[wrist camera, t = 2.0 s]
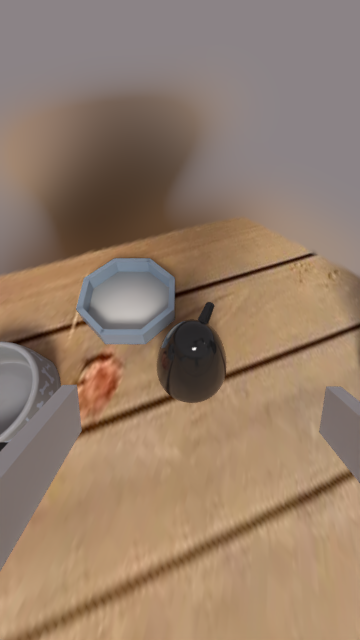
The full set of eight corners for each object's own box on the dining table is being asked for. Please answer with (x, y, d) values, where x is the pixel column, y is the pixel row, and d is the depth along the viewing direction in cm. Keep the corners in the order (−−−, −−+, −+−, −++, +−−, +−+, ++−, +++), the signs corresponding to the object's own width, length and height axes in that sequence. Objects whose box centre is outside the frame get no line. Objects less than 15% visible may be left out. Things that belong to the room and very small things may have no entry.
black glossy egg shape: (231, 361, 42) (253, 312, 29) (206, 420, 38) (219, 393, 25) (177, 337, 45) (174, 282, 32) (147, 390, 40) (130, 350, 27)
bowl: (136, 258, 55) (133, 245, 52) (193, 303, 49) (194, 292, 46) (68, 304, 49) (61, 293, 46) (123, 363, 42) (118, 354, 39)
